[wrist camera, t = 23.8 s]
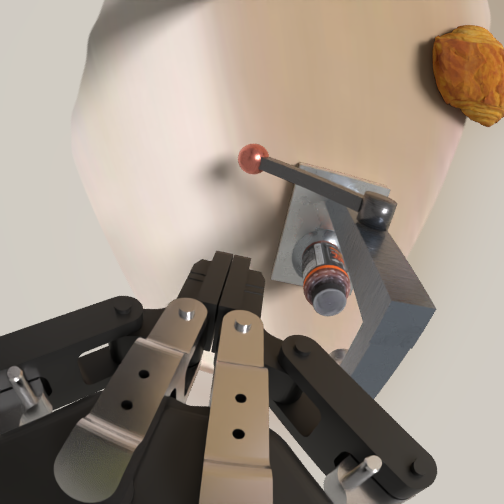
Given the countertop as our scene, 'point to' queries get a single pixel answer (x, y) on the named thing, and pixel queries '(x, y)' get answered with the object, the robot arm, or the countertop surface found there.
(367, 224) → the lever
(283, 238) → the press
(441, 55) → the croissant
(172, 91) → the countertop surface
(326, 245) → the supplement bottle
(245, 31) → the countertop surface
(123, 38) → the countertop surface
